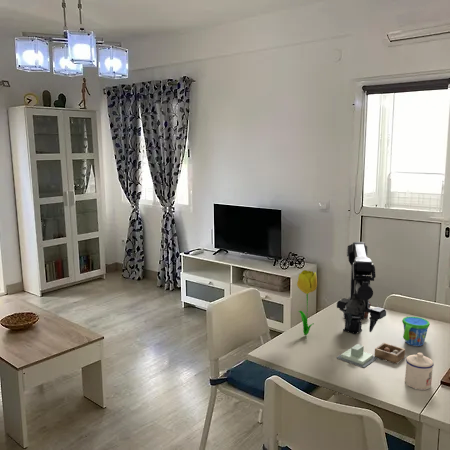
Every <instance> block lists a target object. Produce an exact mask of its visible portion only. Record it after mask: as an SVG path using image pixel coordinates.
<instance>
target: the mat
mask: <svg viewBox="0 0 450 450" xmlns="http://www.w3.org/2000/svg"><path fill="white" fill-rule="evenodd" d="M346 351H347V350H346ZM346 351H344V352H346ZM344 352H342V353H341V354H343V353H344ZM341 354H340V355H338V356H336V359H339V360H341V361H342V362H343V361H344V362H346V363H350V364H352V365H354V366H355V365H356V366H357V367H361V368H363V369H365V368H367V367H368V366H369V365H370V364H372V363H374V362H375V361H376V360H378V359H379V358H378V357H375V355H373V358H372V359H370V360H369V361H367V362H366V363H365V364H363V365H362V364H359V363H356V362H354V361H351V360H348V359H345V358H342V357H341Z"/></svg>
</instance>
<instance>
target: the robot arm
mask: <svg viewBox="0 0 450 450" xmlns="http://www.w3.org/2000/svg"><path fill="white" fill-rule="evenodd" d="M346 257H347V259H348V262H349V265H350V285H349V286H350V287H349V297H348V298H346V297H345V298H341V299H339V300H337V302H336V309H339V311H341V312H342V313H343V319H344V328H343V329H342V331H344V332H346V333H350V334H353V335H356V334H359V333H360V332H362V331H363V329H362V328H363V327H362V325H363V323H362V321H364V320H365V319H364V315H365V312H368V313H369V316H370V317H369V328H368V329H369V331H368V332H369V333H372V332H373V330H374V328H375V325H376V324H377V322H379V320H382V319H383V318H385V317H386V316H387V310H386V309H385V308H383V307H379V306H375V307H373V308H371V306H370V303H371V302H370V299H371V298H373V295H374V291H373V290H374V289H373V288H372V285H371V281H372V282H374V281H375V278H376V267H375V264H374V263H373V262H372V259H371V258H369V257H368V246H367V245H366V242H364V241H354V242H352V244H349V245H347V248H346ZM369 302H370V303H369ZM369 306H370V308H368V307H369Z"/></svg>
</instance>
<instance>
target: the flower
mask: <svg viewBox="0 0 450 450" xmlns="http://www.w3.org/2000/svg"><path fill="white" fill-rule="evenodd" d="M296 285H297V288H298V289H299V290H300V291H301V292H302V293H303V294H306V311H308V309H309V308H308V305H309V304H308V300H309V294H310V293H313V292H315V291H316V290H317V287H318V277H317V272H316V271H311V270H306V269H304V270H302V271H301V272H300V273H299V274H298V277H297V282H296ZM298 313H300V316H301V320H302V321H301V322H302V327H303V329H302V332H303V335H304V336H307V335H309V333H310V329H311V326H312V325H314V324H315V323H314V322H313V323H311V324H310V325H309V324H308V317H307V314H305V313H304V311H302V310H298Z"/></svg>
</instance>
